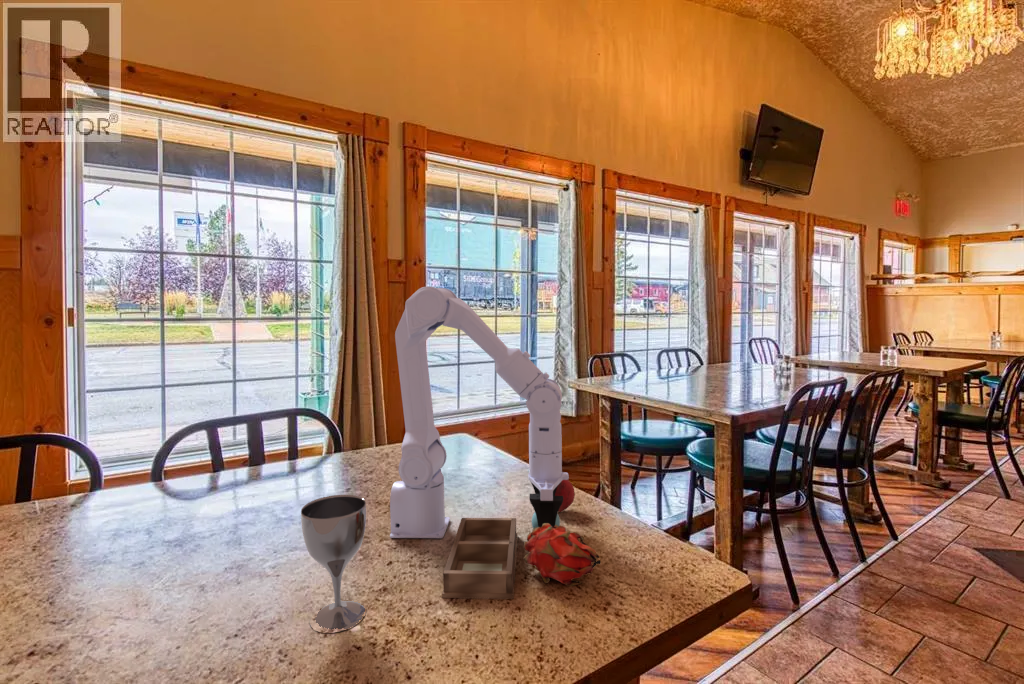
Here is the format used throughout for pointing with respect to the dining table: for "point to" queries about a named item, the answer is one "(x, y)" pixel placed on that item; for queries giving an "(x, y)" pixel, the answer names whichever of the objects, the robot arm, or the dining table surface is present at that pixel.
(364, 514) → the wine glass
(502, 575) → the divided wooden tray
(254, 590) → the dining table surface
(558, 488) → the onion
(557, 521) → the ball
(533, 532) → the dragon fruit
